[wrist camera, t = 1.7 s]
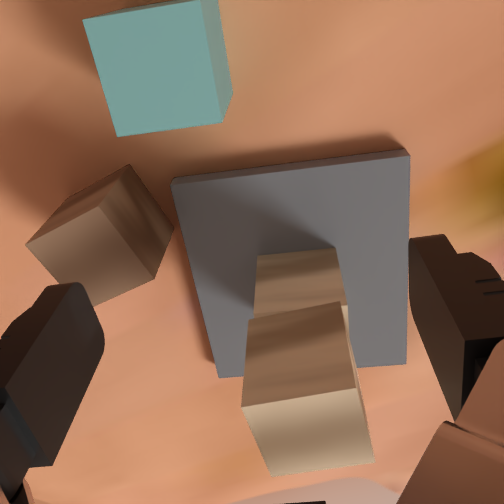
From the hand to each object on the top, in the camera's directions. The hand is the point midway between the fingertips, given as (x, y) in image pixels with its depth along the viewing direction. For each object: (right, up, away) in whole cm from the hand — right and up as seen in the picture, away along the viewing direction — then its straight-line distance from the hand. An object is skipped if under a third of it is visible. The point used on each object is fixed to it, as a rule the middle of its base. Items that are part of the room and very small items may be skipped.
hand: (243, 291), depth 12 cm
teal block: (-4, +12, +14) cm, 19 cm away
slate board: (+3, -1, +21) cm, 21 cm away
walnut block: (-8, +3, +19) cm, 21 cm away
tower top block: (+3, -4, +15) cm, 16 cm away
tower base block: (+3, -1, +20) cm, 20 cm away
